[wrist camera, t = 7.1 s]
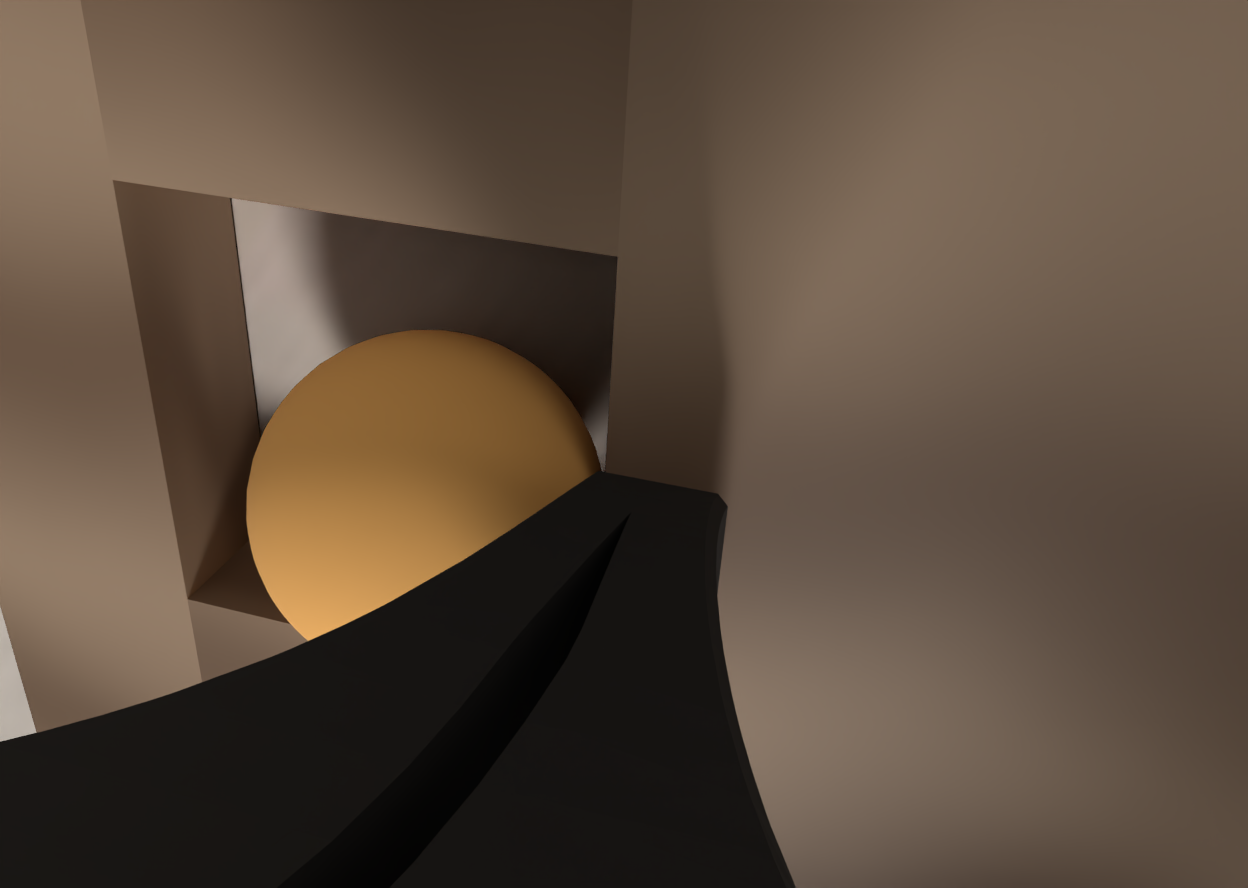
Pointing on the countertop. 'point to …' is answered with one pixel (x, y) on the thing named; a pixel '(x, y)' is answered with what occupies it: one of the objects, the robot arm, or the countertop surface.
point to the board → (711, 370)
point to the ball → (403, 469)
